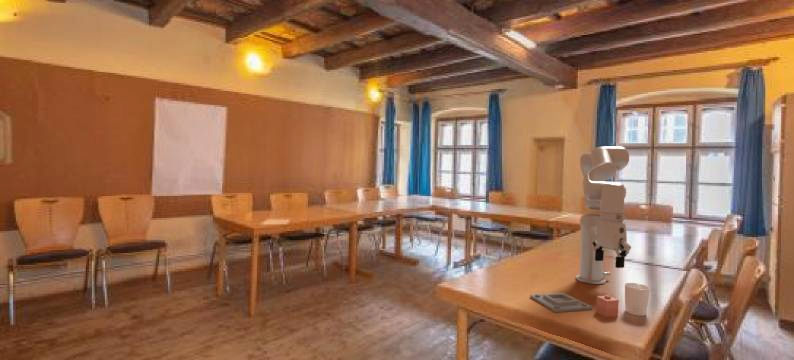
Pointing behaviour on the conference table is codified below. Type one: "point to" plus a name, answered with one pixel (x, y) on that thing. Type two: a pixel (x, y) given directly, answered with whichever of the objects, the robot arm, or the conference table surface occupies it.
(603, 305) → the pink knobbed block
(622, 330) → the conference table surface
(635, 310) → the white cup
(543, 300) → the baseplate
